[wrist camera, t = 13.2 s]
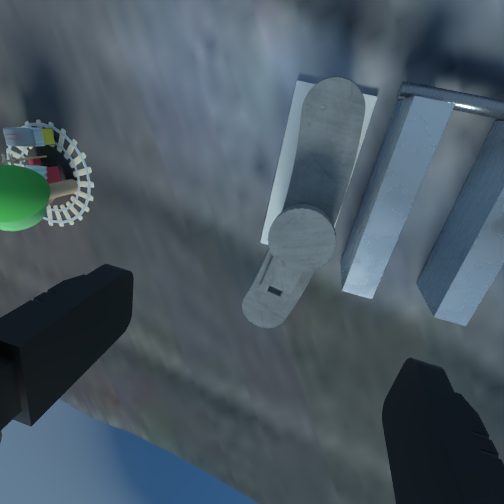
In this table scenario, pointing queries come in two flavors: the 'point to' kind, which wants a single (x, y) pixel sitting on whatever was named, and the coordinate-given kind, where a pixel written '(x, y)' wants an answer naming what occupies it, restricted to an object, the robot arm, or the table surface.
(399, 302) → the table surface
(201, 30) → the table surface
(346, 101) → the hip flask
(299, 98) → the mat
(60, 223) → the train set
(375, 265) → the vise
